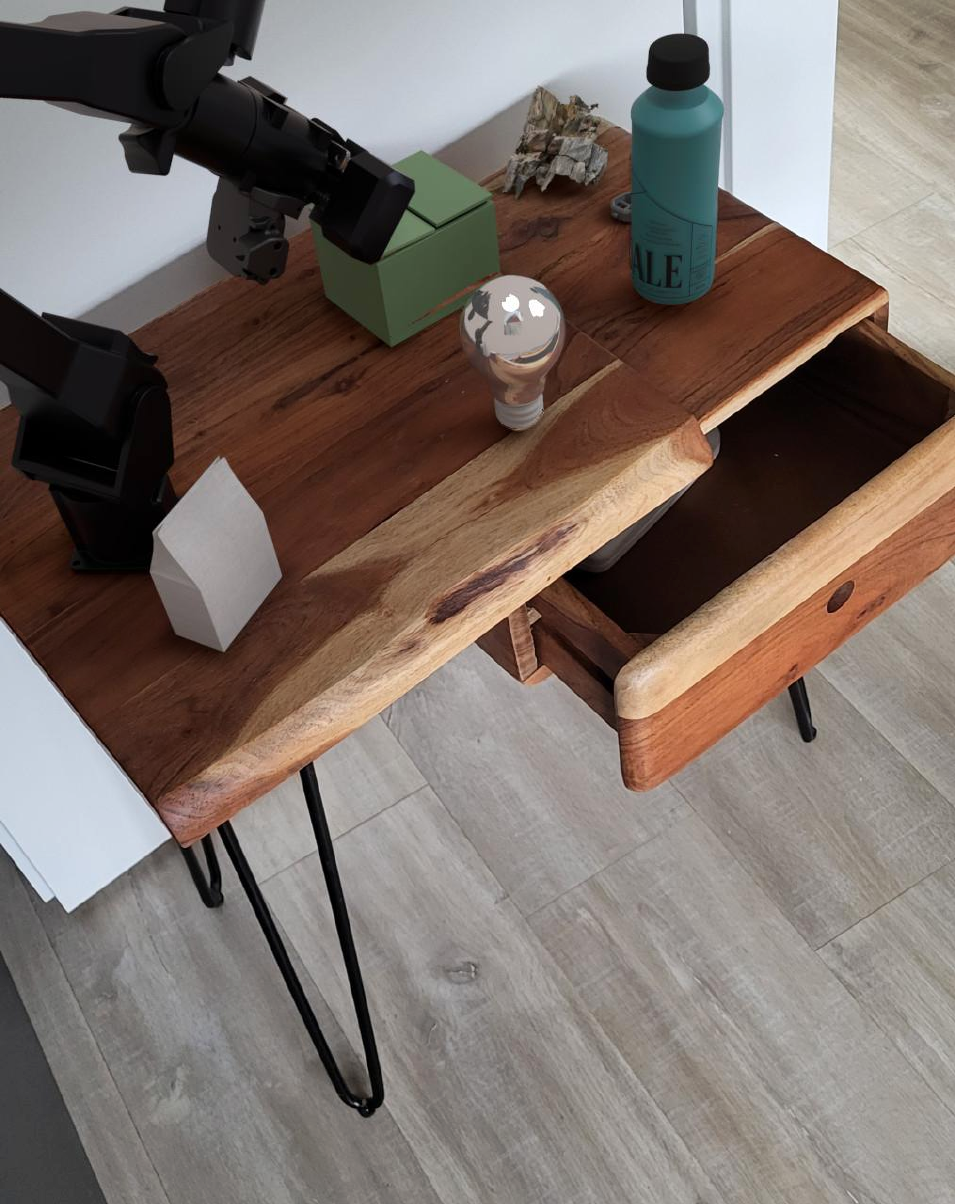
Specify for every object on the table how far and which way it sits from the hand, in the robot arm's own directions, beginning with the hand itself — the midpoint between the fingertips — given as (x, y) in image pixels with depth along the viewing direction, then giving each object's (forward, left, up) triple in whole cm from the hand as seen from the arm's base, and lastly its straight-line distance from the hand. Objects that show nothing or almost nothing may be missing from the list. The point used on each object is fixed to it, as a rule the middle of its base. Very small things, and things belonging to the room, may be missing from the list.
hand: (388, 205), depth 97 cm
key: (+19, +14, -8) cm, 25 cm away
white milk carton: (-8, -31, -8) cm, 33 cm away
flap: (-1, -1, -1) cm, 2 cm away
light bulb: (+10, -15, -8) cm, 20 cm away
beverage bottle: (+21, -1, -8) cm, 22 cm away
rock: (+15, +18, -8) cm, 25 cm away
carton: (+1, +1, -8) cm, 8 cm away
